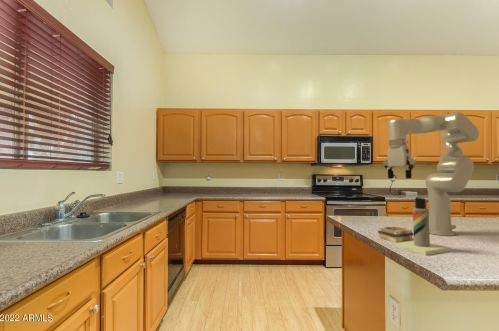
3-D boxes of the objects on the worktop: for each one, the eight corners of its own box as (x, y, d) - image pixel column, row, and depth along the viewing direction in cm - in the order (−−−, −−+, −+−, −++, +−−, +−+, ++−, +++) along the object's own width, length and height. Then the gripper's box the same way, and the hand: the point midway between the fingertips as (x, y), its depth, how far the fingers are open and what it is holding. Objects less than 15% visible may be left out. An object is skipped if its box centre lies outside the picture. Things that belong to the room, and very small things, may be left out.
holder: (394, 235, 139) (393, 225, 139) (413, 240, 129) (413, 229, 129) (377, 237, 135) (377, 227, 135) (396, 242, 125) (396, 231, 125)
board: (417, 243, 123) (417, 240, 123) (449, 251, 110) (449, 247, 110) (394, 246, 118) (394, 243, 118) (425, 255, 105) (425, 251, 105)
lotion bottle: (418, 242, 118) (417, 196, 119) (432, 245, 113) (431, 197, 114) (410, 244, 115) (409, 197, 116) (425, 247, 110) (423, 198, 111)
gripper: (419, 142, 129) (421, 178, 128) (387, 145, 145) (389, 178, 144) (409, 141, 126) (410, 178, 125) (377, 145, 142) (379, 178, 141)
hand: (399, 178), depth 135 cm, fingers open, 9 cm apart
